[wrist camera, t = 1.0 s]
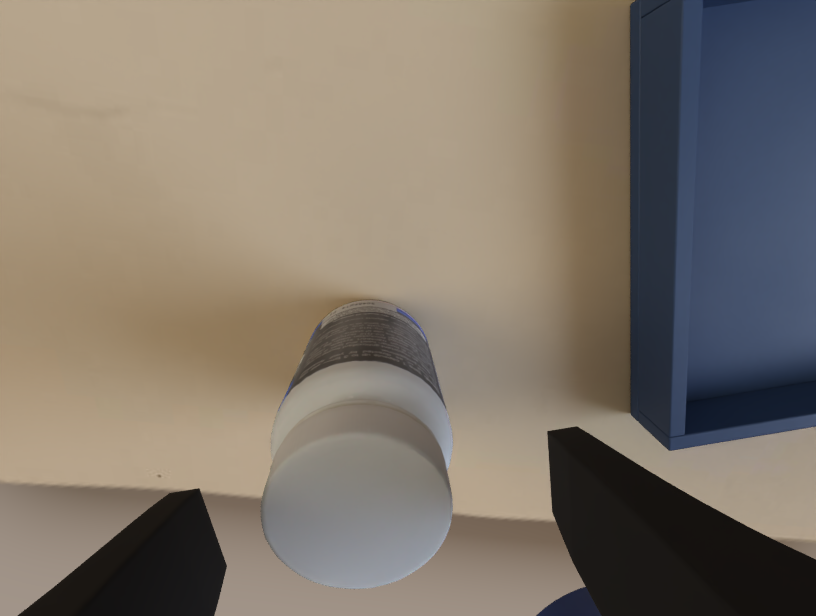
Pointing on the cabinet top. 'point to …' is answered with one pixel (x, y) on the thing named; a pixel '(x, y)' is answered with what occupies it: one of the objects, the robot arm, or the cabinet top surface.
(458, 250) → the cabinet top surface
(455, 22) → the cabinet top surface
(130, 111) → the cabinet top surface
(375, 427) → the pill bottle
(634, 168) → the blue tray
